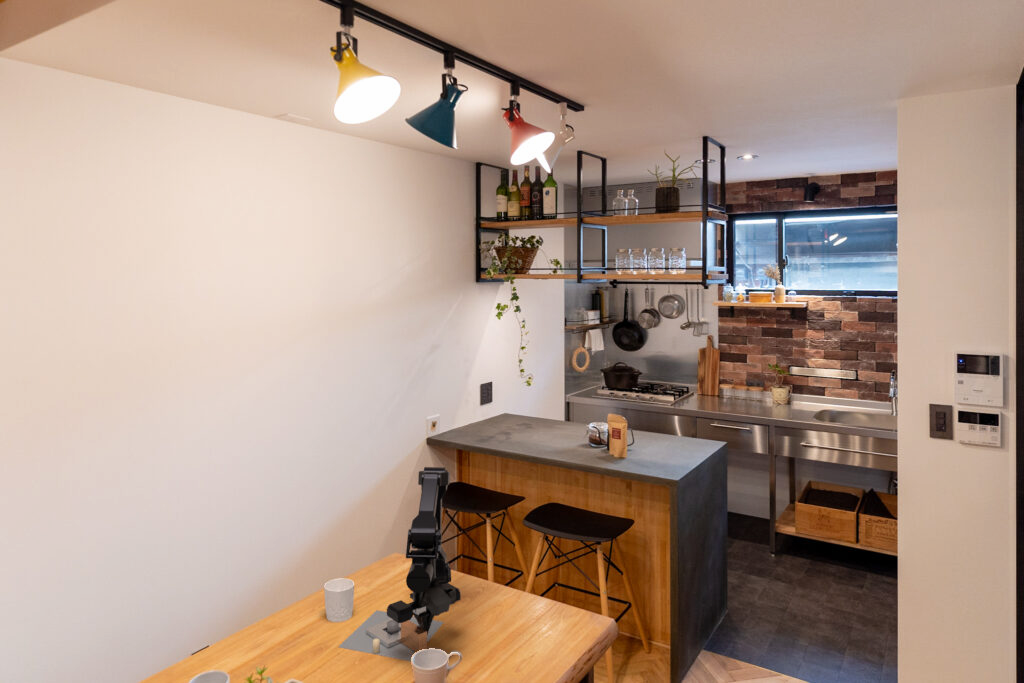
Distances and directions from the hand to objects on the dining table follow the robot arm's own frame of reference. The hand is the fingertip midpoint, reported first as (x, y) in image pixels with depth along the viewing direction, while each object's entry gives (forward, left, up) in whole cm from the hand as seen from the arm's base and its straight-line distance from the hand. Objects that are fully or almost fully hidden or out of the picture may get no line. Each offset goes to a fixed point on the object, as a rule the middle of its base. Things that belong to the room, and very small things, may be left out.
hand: (425, 635), depth 171 cm
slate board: (-2, -10, -4) cm, 11 cm away
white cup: (-6, -28, -4) cm, 29 cm away
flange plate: (0, -7, -2) cm, 7 cm away
